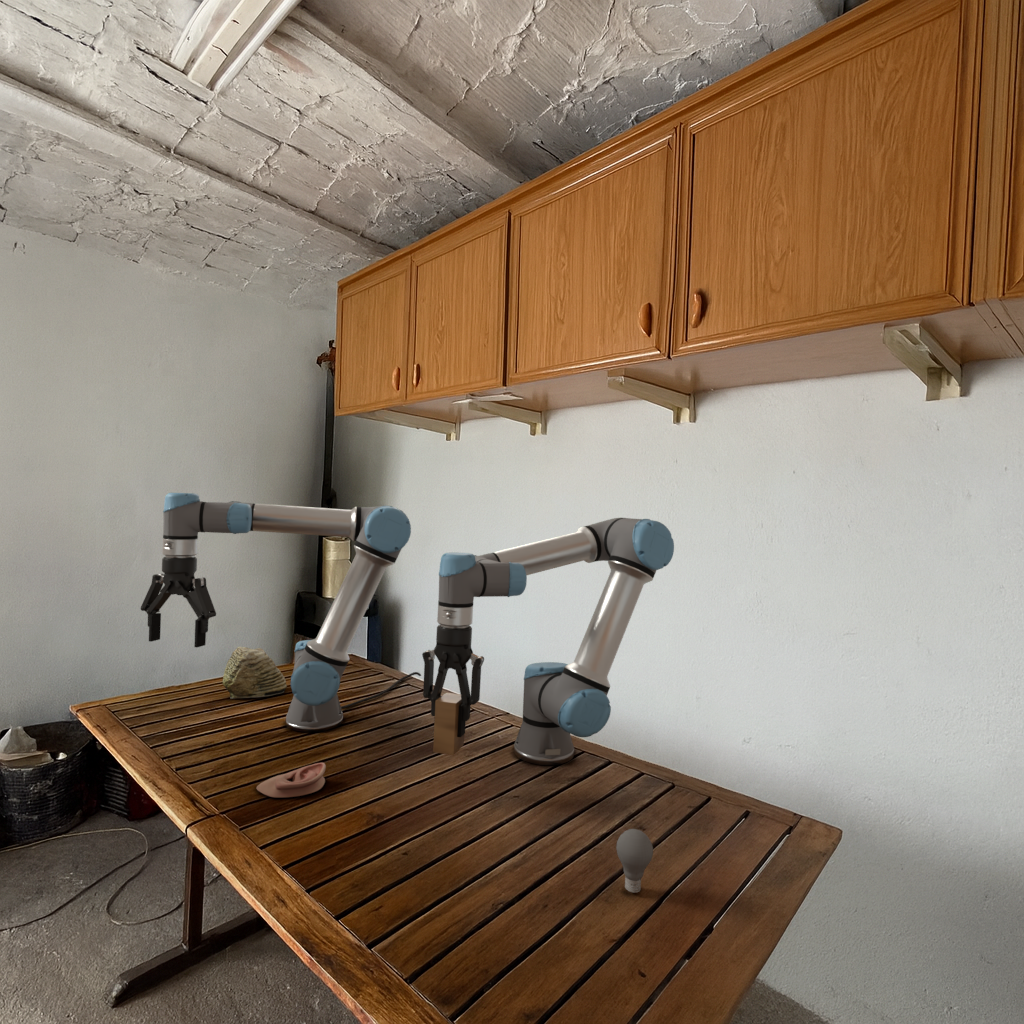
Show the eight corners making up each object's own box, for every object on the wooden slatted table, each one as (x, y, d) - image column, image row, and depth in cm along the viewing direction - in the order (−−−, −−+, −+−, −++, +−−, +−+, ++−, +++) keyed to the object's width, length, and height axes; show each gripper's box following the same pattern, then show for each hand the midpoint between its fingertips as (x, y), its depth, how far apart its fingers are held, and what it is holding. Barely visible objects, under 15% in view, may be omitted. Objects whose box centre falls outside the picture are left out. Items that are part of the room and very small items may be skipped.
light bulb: (610, 879, 108) (613, 822, 108) (644, 879, 109) (647, 822, 109) (619, 902, 102) (622, 840, 102) (655, 901, 103) (658, 840, 103)
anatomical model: (248, 775, 133) (279, 754, 144) (247, 794, 133) (278, 771, 144) (306, 783, 130) (332, 761, 142) (305, 802, 130) (332, 779, 142)
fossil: (218, 695, 195) (220, 647, 195) (278, 685, 208) (279, 640, 207) (228, 703, 189) (230, 653, 188) (289, 692, 201) (290, 645, 201)
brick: (444, 741, 140) (446, 692, 139) (463, 745, 138) (466, 695, 138) (433, 752, 134) (435, 700, 133) (453, 755, 132) (456, 703, 132)
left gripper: (125, 553, 154) (123, 641, 154) (211, 561, 147) (208, 652, 147) (151, 551, 161) (148, 635, 161) (233, 558, 154) (230, 645, 154)
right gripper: (409, 623, 134) (404, 732, 135) (488, 632, 129) (482, 745, 130) (423, 618, 142) (418, 721, 142) (499, 626, 137) (494, 733, 137)
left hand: (176, 643), depth 154 cm, fingers open, 13 cm apart
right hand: (449, 732), depth 136 cm, fingers closed on brick, 5 cm apart
